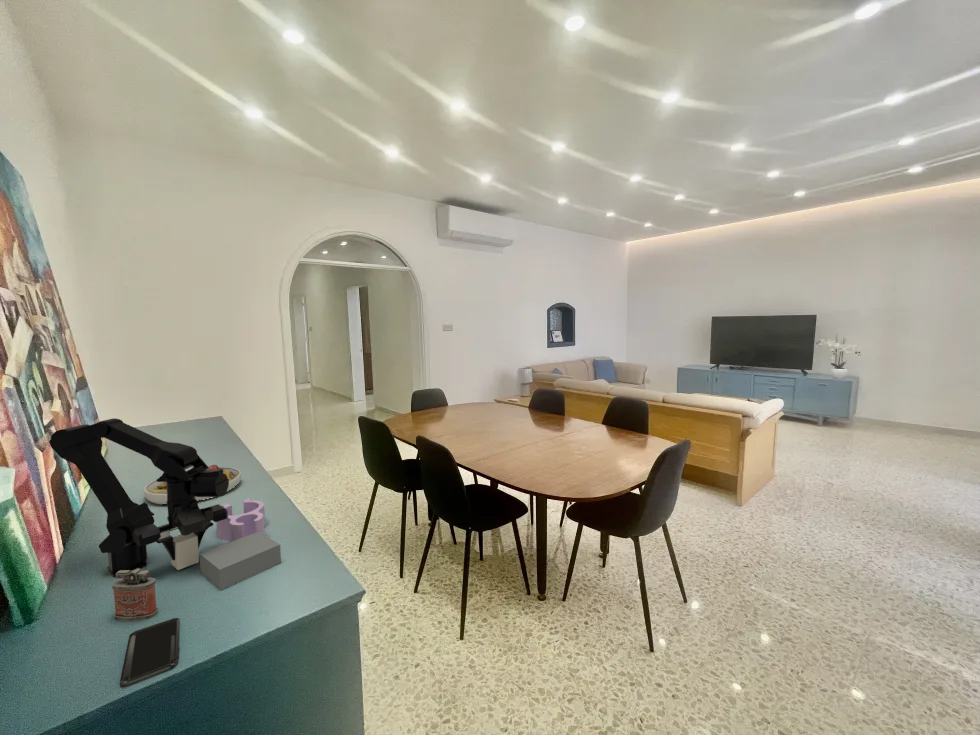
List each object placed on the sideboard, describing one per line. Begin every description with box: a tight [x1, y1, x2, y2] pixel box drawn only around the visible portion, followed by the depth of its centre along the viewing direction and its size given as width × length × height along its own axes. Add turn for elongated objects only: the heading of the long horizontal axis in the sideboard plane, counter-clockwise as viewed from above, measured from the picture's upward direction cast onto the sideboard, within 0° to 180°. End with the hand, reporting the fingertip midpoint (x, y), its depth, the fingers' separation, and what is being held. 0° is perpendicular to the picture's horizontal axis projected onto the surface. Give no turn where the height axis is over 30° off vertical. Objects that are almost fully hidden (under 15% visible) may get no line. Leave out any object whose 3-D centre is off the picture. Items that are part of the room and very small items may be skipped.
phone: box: [119, 617, 181, 688], centre depth 75 cm, size 8×1×15 cm
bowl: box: [143, 464, 242, 505], centre depth 153 cm, size 30×30×8 cm
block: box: [170, 533, 200, 571], centre depth 103 cm, size 4×4×7 cm
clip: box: [216, 498, 266, 542], centre depth 120 cm, size 20×12×7 cm, turn 42°
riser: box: [199, 532, 282, 591], centre depth 102 cm, size 14×12×5 cm
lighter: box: [111, 568, 159, 622], centre depth 84 cm, size 8×3×10 cm, turn 92°
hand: (184, 555), depth 103 cm, fingers closed on block, 4 cm apart
